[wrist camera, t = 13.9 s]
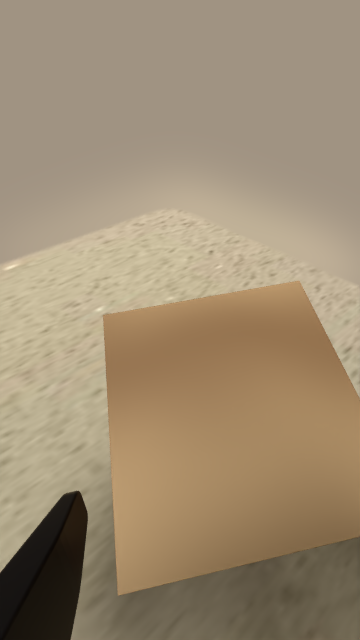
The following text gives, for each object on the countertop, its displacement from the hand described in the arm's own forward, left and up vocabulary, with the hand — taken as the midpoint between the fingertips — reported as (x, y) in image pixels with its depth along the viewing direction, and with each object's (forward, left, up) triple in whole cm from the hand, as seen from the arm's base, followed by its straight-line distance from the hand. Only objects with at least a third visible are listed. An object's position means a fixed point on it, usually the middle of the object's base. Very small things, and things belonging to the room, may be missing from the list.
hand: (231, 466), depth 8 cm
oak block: (+1, -1, -9) cm, 9 cm away
